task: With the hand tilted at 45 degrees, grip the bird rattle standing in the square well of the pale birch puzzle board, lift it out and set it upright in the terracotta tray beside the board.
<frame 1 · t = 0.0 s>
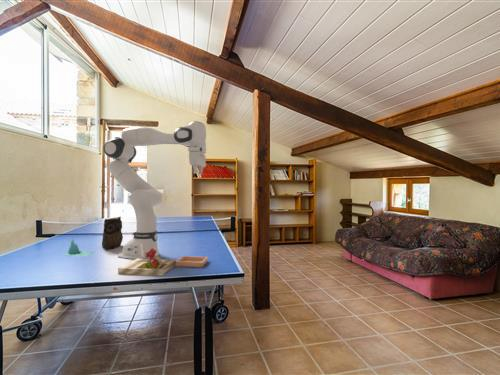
hand: (198, 174, 153), 48 cm above the table, tool pointing down, fingers open, 8 cm apart
terracotta tray: (192, 263, 140), on the table
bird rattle: (152, 271, 128), resting in puzzle board
puzzle board: (152, 271, 128), on the table
brown owl figurine: (110, 247, 176), on the table
diorama: (79, 254, 159), on the table
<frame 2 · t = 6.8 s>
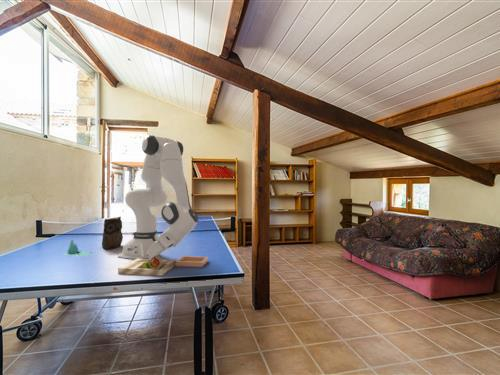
hand: (151, 257, 128), 7 cm above the table, tool tilted 45°, fingers closed on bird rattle, 2 cm apart
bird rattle: (152, 271, 128), resting in puzzle board, touching gripper
everything else where it was.
when the fingers open (9 cm above the table, at t = 12.2 s): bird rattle moves 1 cm, point 1 cm above the table.
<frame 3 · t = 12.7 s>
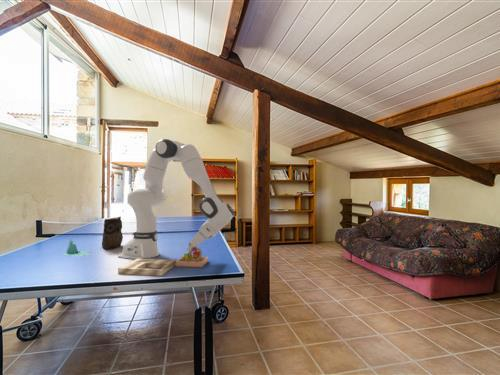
hand: (191, 247, 141), 9 cm above the table, tool tilted 45°, fingers open, 8 cm apart
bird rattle: (192, 262, 140), point 1 cm above the table, touching gripper
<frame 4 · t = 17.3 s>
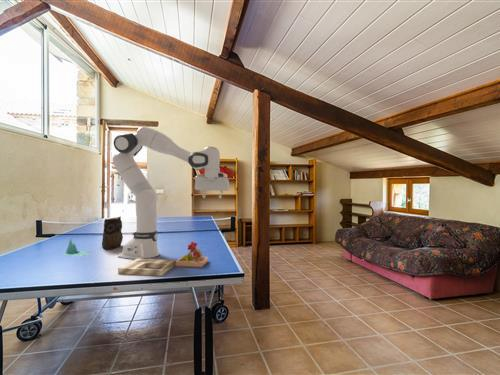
hand: (211, 198, 157), 34 cm above the table, tool pointing down, fingers open, 8 cm apart
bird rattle: (193, 262, 141), resting on terracotta tray
at the end: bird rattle 1.0 cm off-centre on the terracotta tray, point 0.4 cm above the terracotta tray's base; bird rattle tilted 0°; the gripper is holding nothing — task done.
